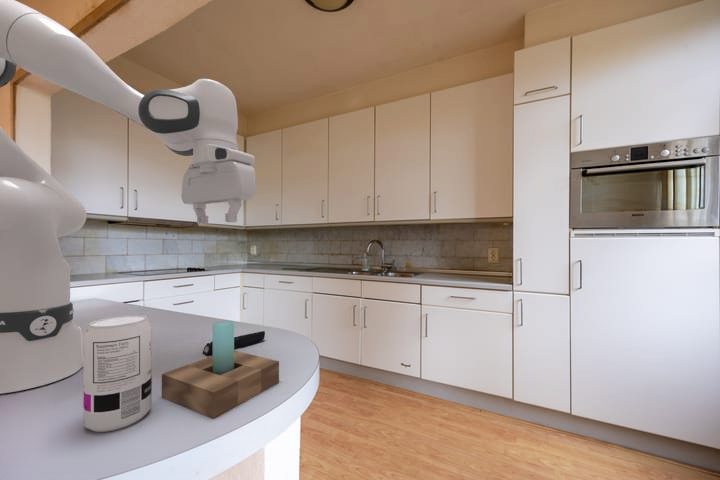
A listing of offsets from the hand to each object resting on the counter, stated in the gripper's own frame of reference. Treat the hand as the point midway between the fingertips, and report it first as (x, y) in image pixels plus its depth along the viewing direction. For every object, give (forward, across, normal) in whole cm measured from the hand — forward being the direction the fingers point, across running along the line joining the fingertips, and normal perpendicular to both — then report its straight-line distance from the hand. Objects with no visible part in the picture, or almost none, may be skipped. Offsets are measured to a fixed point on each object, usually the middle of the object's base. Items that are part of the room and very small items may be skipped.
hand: (216, 223), depth 67 cm
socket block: (+31, +10, -6) cm, 33 cm away
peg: (+31, +10, -6) cm, 33 cm away
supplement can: (+31, +4, -20) cm, 37 cm away
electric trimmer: (+32, -8, +11) cm, 34 cm away
